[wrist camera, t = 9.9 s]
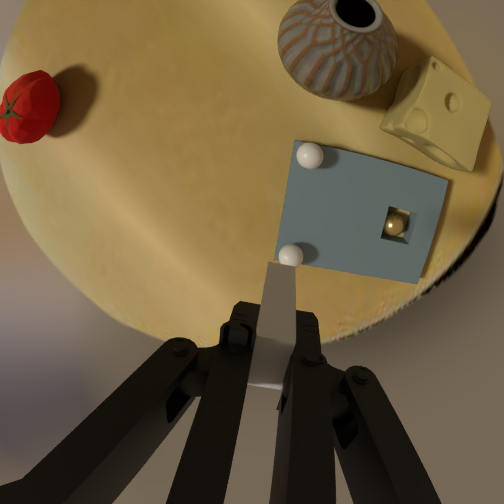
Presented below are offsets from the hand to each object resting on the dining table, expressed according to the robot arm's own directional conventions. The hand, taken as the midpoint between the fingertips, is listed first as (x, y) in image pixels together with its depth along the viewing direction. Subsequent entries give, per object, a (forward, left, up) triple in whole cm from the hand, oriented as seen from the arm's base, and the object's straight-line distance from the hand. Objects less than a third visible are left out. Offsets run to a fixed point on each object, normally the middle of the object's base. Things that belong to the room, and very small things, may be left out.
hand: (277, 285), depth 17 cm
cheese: (-16, +17, -25) cm, 34 cm away
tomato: (-12, -43, -25) cm, 51 cm away
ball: (0, +15, -23) cm, 27 cm away
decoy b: (+6, +2, -20) cm, 21 cm away
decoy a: (-7, +2, -20) cm, 21 cm away
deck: (0, +11, -24) cm, 27 cm away
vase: (-20, +3, -25) cm, 32 cm away
